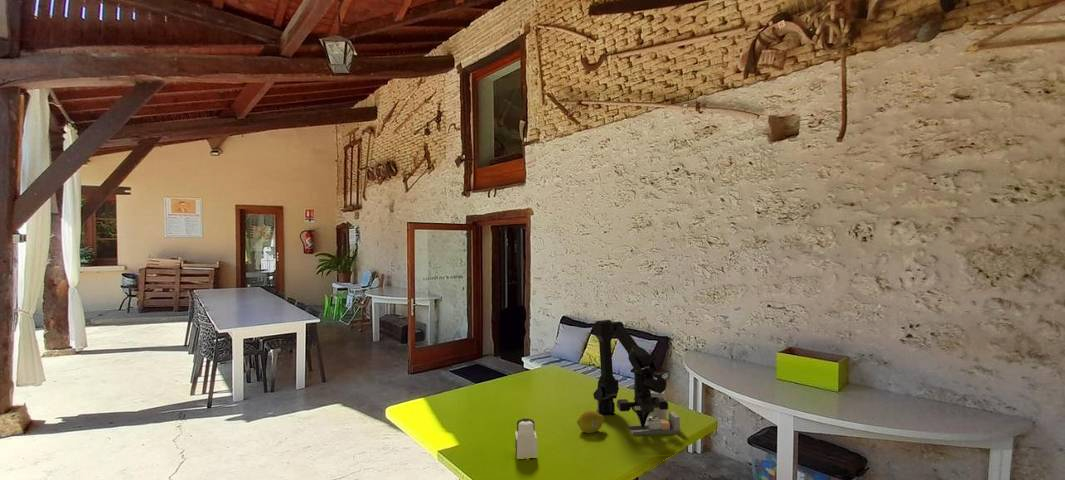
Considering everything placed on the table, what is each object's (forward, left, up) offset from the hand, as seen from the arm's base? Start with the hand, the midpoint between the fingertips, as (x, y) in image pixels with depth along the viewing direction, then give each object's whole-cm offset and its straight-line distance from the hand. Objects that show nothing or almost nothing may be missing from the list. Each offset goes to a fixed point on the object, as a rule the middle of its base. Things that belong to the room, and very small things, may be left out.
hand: (642, 426), depth 182 cm
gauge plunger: (+4, 0, -2) cm, 4 cm away
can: (+10, +11, -2) cm, 15 cm away
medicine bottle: (-46, -14, -2) cm, 48 cm away
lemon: (-20, +3, -2) cm, 20 cm away
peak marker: (+8, 0, -2) cm, 9 cm away
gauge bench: (+4, 0, -2) cm, 5 cm away
